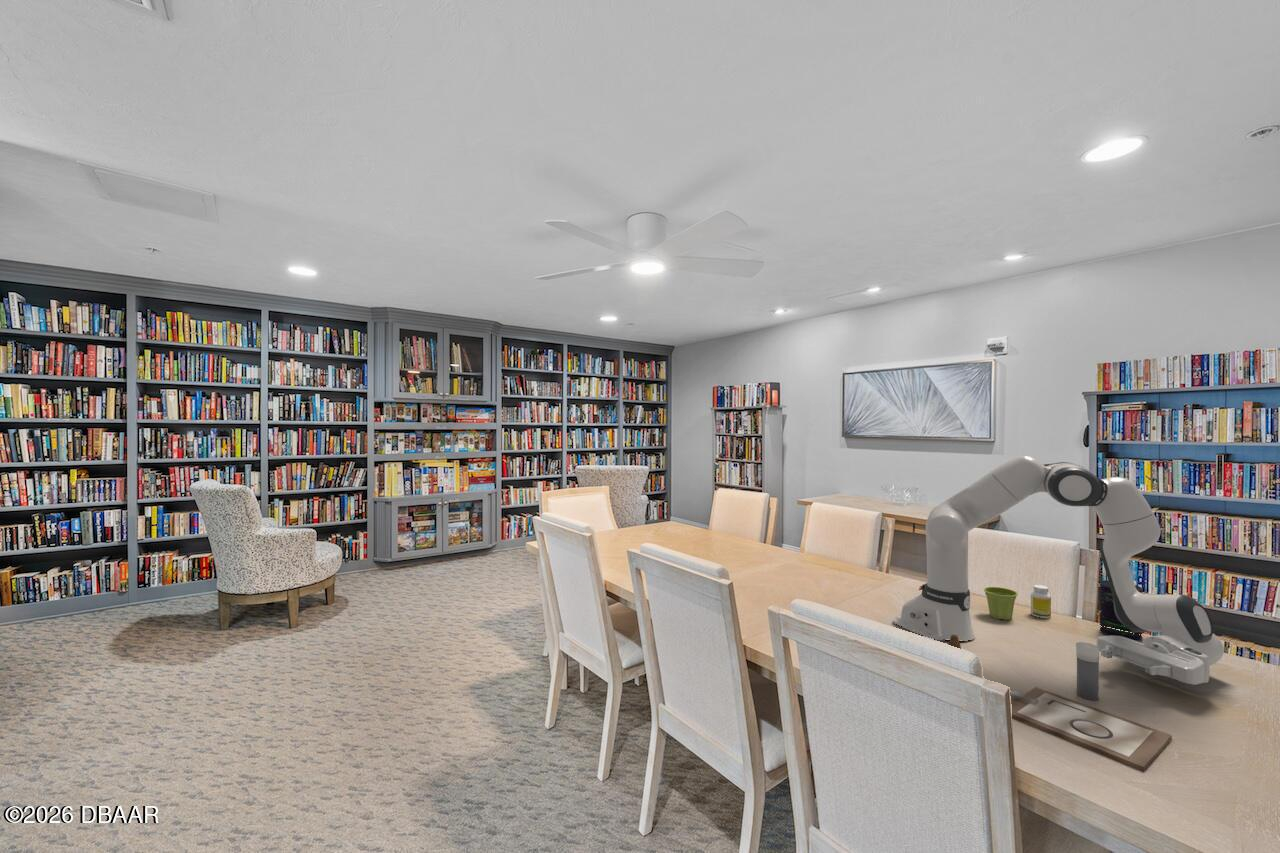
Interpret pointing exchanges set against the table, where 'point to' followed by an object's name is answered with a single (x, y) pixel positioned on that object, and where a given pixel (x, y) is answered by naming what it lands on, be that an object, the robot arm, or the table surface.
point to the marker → (1087, 670)
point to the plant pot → (1000, 602)
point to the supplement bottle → (1040, 602)
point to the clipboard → (1090, 727)
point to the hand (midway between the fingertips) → (1125, 662)
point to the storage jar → (1113, 615)
